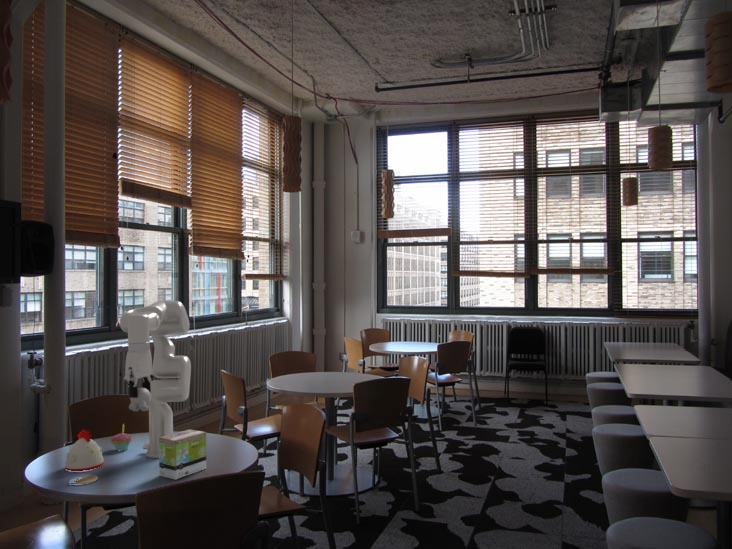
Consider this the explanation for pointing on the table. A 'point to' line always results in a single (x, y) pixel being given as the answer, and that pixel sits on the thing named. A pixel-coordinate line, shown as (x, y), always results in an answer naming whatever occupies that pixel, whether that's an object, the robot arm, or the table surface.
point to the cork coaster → (86, 479)
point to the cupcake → (121, 440)
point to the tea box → (182, 454)
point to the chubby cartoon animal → (141, 400)
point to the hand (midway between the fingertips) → (140, 395)
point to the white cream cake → (84, 454)
